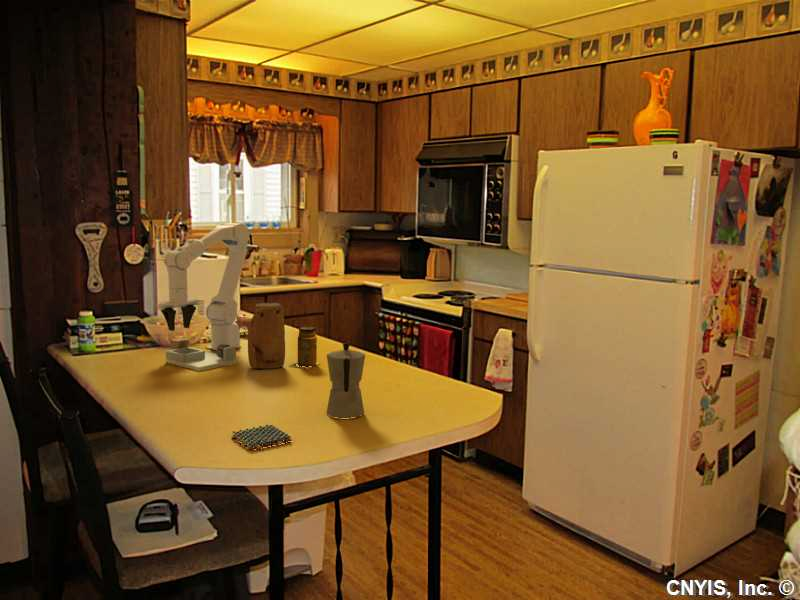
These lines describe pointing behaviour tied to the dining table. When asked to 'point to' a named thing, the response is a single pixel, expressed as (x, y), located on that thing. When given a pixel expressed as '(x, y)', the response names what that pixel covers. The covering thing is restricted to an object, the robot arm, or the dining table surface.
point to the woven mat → (261, 437)
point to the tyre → (221, 350)
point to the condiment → (306, 347)
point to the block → (266, 337)
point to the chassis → (201, 358)
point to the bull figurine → (243, 321)
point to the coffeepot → (345, 383)
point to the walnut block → (178, 343)
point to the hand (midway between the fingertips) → (179, 329)
